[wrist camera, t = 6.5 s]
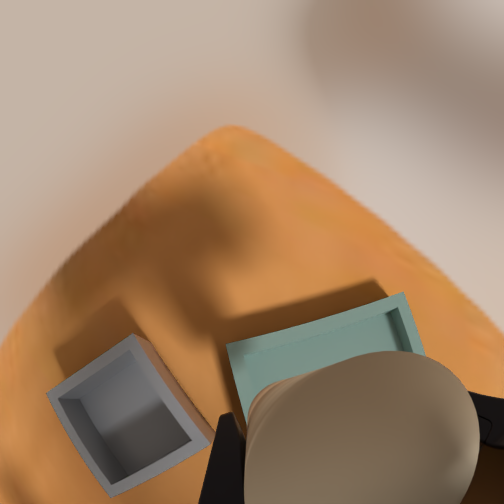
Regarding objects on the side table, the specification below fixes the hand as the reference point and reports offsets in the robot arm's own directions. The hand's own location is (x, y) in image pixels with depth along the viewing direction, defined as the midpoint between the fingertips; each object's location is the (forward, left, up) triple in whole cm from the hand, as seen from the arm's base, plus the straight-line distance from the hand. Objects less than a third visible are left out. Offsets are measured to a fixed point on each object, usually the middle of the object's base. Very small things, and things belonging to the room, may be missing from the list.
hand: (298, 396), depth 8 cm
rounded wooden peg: (-1, 0, -6) cm, 6 cm away
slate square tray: (0, +10, -13) cm, 17 cm away
